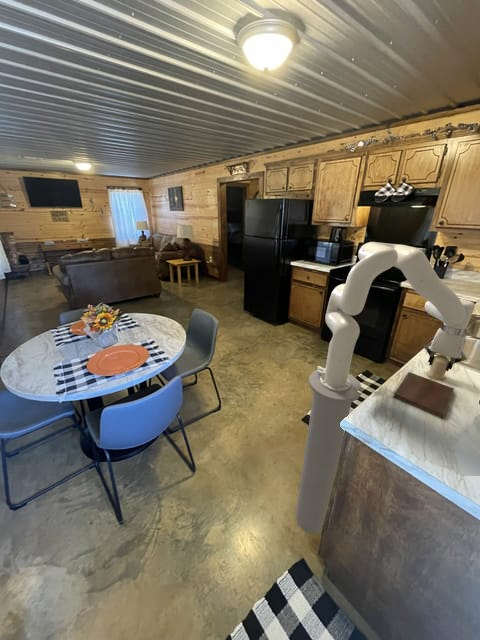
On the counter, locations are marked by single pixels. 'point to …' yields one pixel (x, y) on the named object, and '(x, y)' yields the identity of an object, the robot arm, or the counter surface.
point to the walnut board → (424, 394)
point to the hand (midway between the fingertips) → (438, 366)
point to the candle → (438, 367)
